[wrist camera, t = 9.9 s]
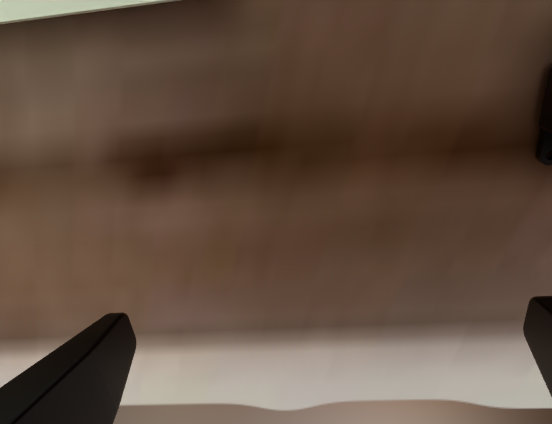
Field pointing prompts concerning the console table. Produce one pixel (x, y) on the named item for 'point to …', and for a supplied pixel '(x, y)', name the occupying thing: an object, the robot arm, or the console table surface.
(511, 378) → the console table surface
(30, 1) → the cover sheet
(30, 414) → the robot arm
